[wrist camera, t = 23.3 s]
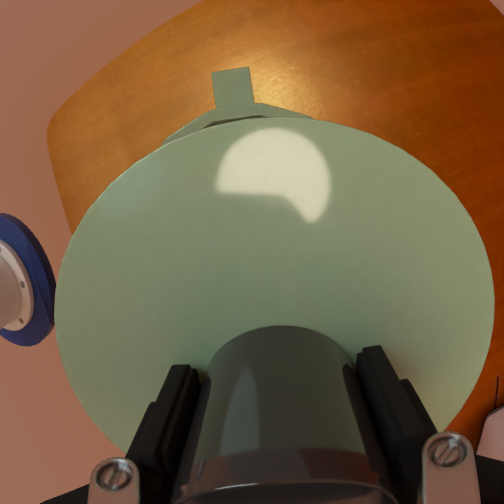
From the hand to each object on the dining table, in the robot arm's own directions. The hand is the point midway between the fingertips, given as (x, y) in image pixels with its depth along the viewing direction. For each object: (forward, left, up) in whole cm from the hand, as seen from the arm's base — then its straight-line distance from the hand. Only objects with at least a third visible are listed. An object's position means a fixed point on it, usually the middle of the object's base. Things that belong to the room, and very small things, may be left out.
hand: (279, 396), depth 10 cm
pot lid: (0, 0, -1) cm, 1 cm away
